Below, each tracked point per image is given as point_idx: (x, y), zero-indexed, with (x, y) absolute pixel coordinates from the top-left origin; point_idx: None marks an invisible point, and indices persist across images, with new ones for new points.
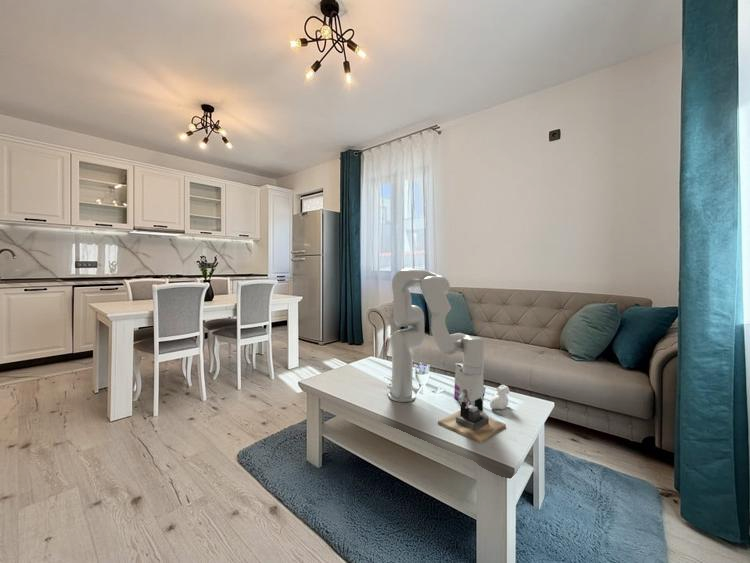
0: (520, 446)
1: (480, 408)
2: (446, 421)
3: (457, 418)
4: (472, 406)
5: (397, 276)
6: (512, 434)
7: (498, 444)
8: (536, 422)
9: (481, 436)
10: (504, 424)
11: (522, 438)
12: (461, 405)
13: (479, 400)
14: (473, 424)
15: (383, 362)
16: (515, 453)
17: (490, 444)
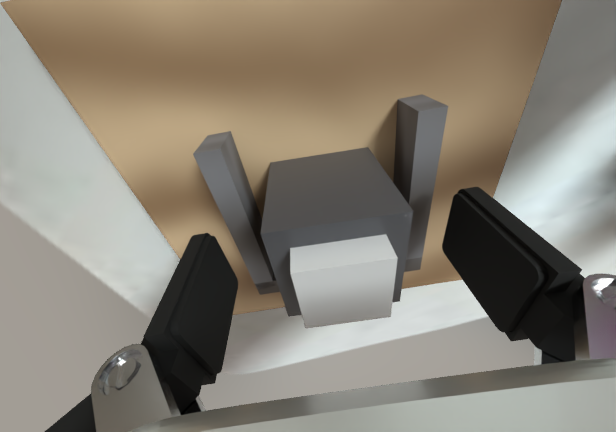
0: (342, 346)
1: (459, 261)
2: (116, 76)
3: (203, 168)
4: (366, 290)
5: None
6: (404, 307)
7: (285, 325)
8: None
9: (248, 303)
10: (456, 278)
11: (401, 328)
12: (92, 415)
13: (531, 326)
14: (255, 282)
15: None
16: (290, 357)
17: (256, 318)
